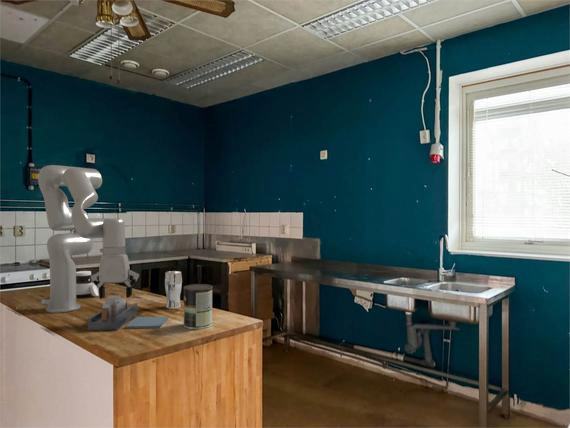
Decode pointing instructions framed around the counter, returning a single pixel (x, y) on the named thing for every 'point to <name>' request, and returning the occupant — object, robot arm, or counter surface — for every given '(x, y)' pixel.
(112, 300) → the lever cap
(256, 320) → the counter surface
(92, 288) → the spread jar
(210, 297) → the coffee can
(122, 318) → the body
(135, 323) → the mat
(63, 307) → the robot arm
